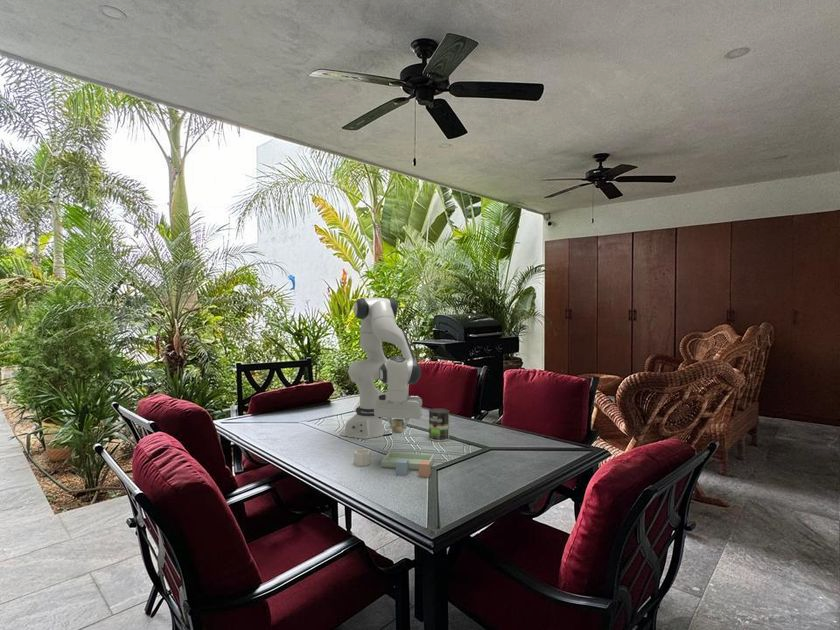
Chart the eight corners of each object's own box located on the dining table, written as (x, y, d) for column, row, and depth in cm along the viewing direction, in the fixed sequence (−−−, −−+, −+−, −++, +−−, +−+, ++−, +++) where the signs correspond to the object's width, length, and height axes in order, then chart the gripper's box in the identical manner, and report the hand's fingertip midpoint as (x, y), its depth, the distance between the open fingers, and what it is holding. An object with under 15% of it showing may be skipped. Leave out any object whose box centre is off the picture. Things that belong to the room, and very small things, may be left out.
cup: (352, 465, 182) (352, 453, 182) (358, 459, 188) (358, 448, 188) (367, 466, 180) (367, 454, 180) (372, 461, 187) (372, 449, 187)
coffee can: (444, 442, 212) (444, 413, 212) (425, 439, 217) (425, 411, 217) (452, 437, 221) (452, 409, 221) (434, 434, 226) (434, 407, 226)
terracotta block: (418, 476, 170) (418, 463, 170) (420, 472, 174) (420, 460, 174) (428, 477, 169) (428, 464, 169) (430, 473, 173) (430, 461, 173)
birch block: (392, 433, 182) (392, 421, 182) (394, 430, 186) (394, 418, 186) (401, 433, 182) (401, 421, 181) (403, 430, 185) (403, 419, 185)
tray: (381, 467, 180) (381, 461, 180) (389, 457, 191) (389, 451, 191) (429, 471, 176) (429, 464, 175) (434, 460, 187) (434, 454, 187)
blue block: (396, 474, 172) (396, 462, 172) (398, 470, 176) (398, 458, 176) (406, 475, 171) (406, 462, 171) (408, 471, 175) (408, 459, 175)
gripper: (423, 394, 185) (423, 427, 185) (377, 393, 189) (377, 424, 189) (420, 397, 179) (420, 431, 179) (372, 395, 183) (372, 428, 183)
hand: (398, 428), depth 184 cm, fingers closed on birch block, 4 cm apart
